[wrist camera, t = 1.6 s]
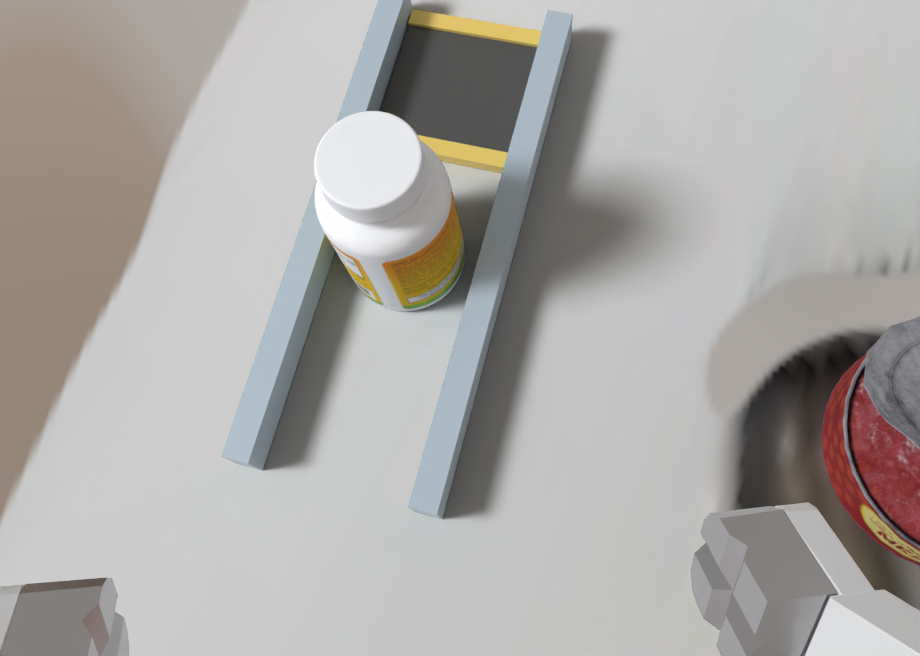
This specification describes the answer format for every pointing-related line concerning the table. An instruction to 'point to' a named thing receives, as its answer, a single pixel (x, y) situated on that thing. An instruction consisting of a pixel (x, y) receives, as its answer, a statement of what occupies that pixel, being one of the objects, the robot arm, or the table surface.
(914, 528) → the canned food
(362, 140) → the supplement bottle
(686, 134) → the table surface
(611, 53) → the table surface
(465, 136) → the channel
